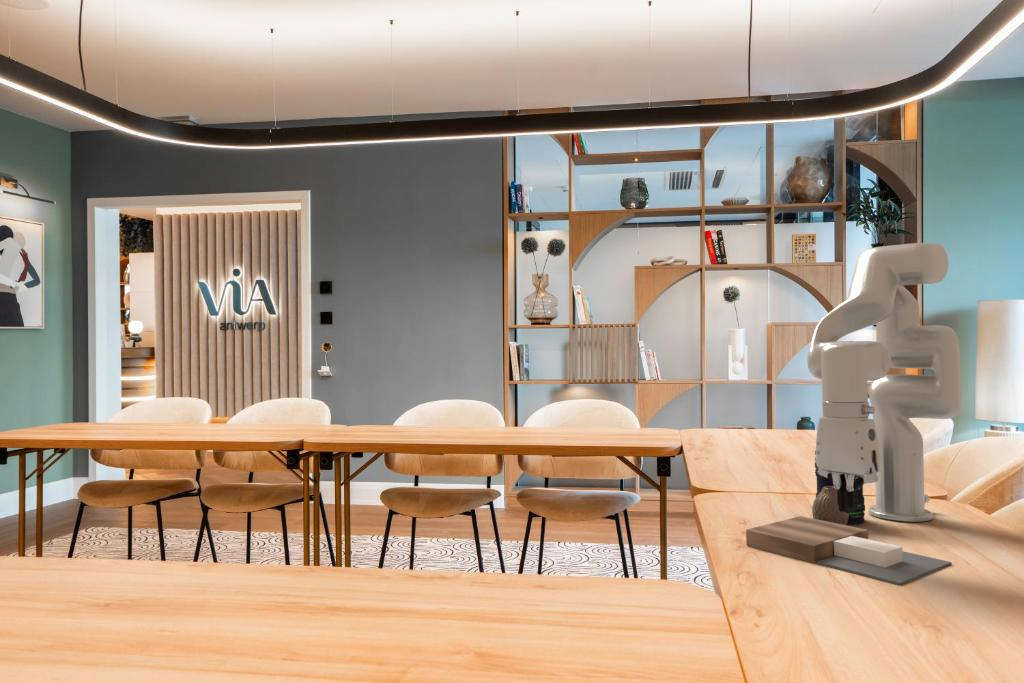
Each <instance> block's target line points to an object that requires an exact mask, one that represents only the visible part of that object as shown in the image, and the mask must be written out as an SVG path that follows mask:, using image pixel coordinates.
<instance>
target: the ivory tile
mask: <svg viewBox="0 0 1024 683" xmlns="http://www.w3.org/2000/svg"><path fill="white" fill-rule="evenodd" d="M902 551H903V546H900V545H895V544H891V543H886V542H881V541H876V540H873V539H869V538H868V539H864V538H859V537H855V536H849V537H846V538H843V539H840V540H836V541H834V555H835V556H840V557H844V558H848V559H852V560H856V561H860V562H864V563H868V564H872V565H876V566H881V567H888V566H891V565H893V564H896V563H899V562H901V561H902Z"/></svg>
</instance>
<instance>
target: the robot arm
mask: <svg viewBox="0 0 1024 683" xmlns="http://www.w3.org/2000/svg"><path fill="white" fill-rule="evenodd" d="M948 269H949V256H948V253H947V251H946V249H945V248H944V247H943V246H942V245H941V244H940V243H936V242H935V243H934V242H933V243H931V242H930V243H929V242H913V243H904V244H892V245H885V246H883V245H882V246H876V247H871V248H868V249H866V250H864V251H862V253H860V255H859V256H858V257H857V260H856V263H855V267H854V271H853V273H852V274H853V275H852V279H851V282H850V285H849V289H848V292H847V293H848V294H847V298H846V300H844V301H843V302H841V303H840V304H838V305H837V306H836V307H834V308H833V309H832V310H830V311H829V312H828V313H827V314H826V315H825V316H824V317H823V318H821V319H820V321H819V322H818V323H817V324H816V326H815V328H814V331H813V333H812V338H811V340H810V344H809V348H808V353H807V368H808V371H809V373H810V374H811V375H812V376H813V377H814V378H816V379H818V380H821V401H822V402H821V403H822V408H821V409H822V416H820V417H819V420H818V424H817V432H816V441H815V442H816V443H815V450H816V455H815V457H816V461H815V462H816V463H817V466H818V467H819V468H818V474H819V475H822V476H824V477H826V478H829V480H830V481H831V482H832V483H833V484H834V488H835V489H837V502H838V505H839V511H840V512H845V513H851V512H854V511H856V510H857V507H858V489H860V488H861V486H863V487H864V485H865V484H875V504H873V505H871V506H869V507H868V514H870V515H872V516H873V517H876V518H879V519H883V520H884V519H885V520H890V521H899V522H910V523H911V522H914V523H918V522H928V521H931V520H933V519H934V513H933V512H932V511H930V510H928V509H926V507H925V504H926V503H929V502H930V500H931V498H930V496H929V495H928V494H925V468H924V466H925V465H924V462H925V461H924V439H923V435H922V434H921V432H920V430H919V429H918V428H917V426H916V425H915V424H914V423H913V422H912V421H911V420H910V419H929V420H931V419H932V420H933V419H934V420H947V419H953V418H955V417H956V416H957V415H958V414H959V412H960V410H961V409H960V408H961V393H962V392H961V391H962V390H961V352H960V342H959V337H958V335H957V333H956V331H955V330H954V329H953V328H952V327H950V326H947V325H939V324H937V325H921V324H920V305H919V302H918V300H917V299H916V297H915V296H914V295H913V294H912V293H911V292H910V291H909V290H908V289H907V288H906V287H904V286H912V285H913V286H914V285H931V284H937V283H940V282H942V281H943V280H944V279H945V278H946V276H947V273H948V271H949V270H948ZM875 324H876V326H875V327H876V329H875V330H876V338H875V339H876V341H872V340H869V341H868V340H866V341H865V340H862V341H859V340H857V341H853V340H846V341H843V340H841V339H842V338H843V337H845V336H847V335H849V334H851V333H852V334H853V333H854V332H856V331H857V332H858V331H859V330H860V331H861V330H863V329H866V328H868V327H871V326H873V325H875ZM891 369H913V370H914V369H921V370H922V369H923V370H924V369H925V370H926V369H928V370H929V369H930V370H932V371H934V374H907V373H906V374H904V373H903V374H901V373H900V374H899V373H898V374H897V373H896V374H895V373H893V374H888V373H889V371H890V370H891ZM868 382H870V385H869V386H868ZM868 396H869V397H868ZM868 399H869V400H868ZM870 415H872V418H869V417H870ZM846 474H848V478H847V475H846Z"/></svg>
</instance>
